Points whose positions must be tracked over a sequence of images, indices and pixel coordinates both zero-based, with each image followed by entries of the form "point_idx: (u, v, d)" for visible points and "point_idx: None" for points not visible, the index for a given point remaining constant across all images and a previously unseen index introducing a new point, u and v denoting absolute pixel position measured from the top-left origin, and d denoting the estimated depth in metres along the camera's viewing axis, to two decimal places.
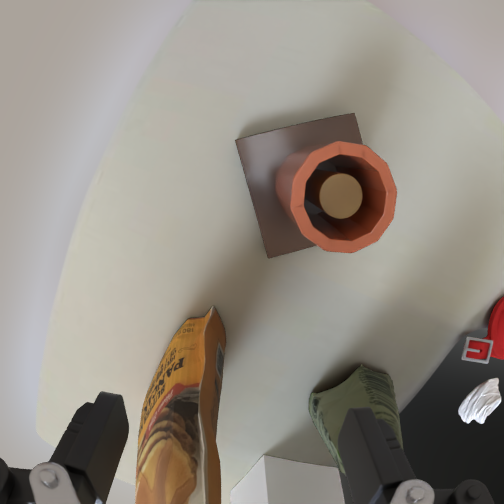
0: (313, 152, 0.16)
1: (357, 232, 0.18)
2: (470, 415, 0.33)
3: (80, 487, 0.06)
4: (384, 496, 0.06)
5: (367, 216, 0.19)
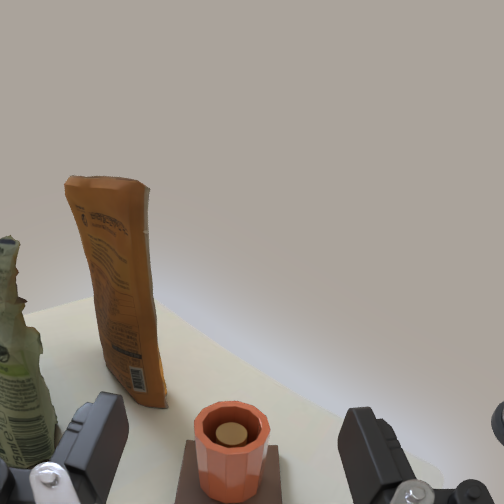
0: (266, 417, 0.24)
1: None
2: None
3: (80, 487, 0.06)
4: (384, 496, 0.06)
5: None
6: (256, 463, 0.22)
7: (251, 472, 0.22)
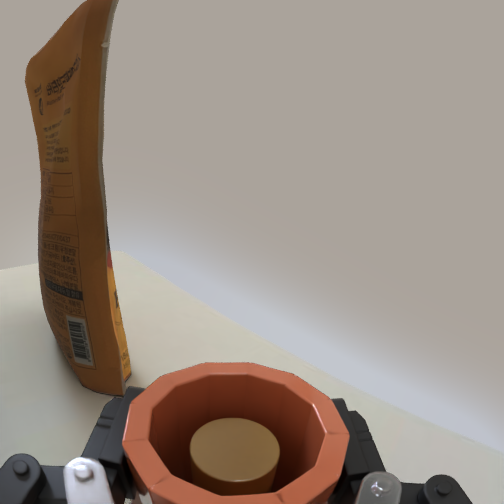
0: (331, 401, 0.09)
1: (153, 444, 0.08)
2: None
3: (114, 481, 0.06)
4: (351, 487, 0.07)
5: None
6: None
7: None
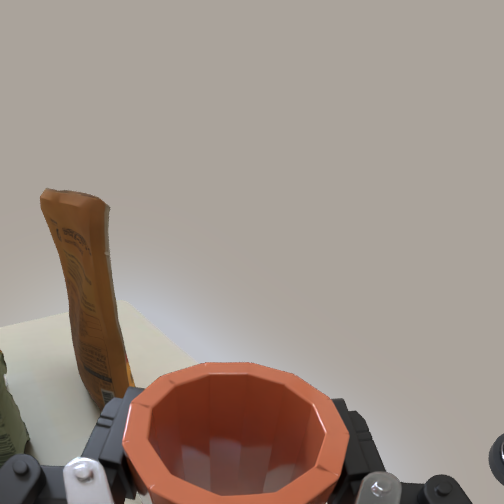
0: (331, 401, 0.09)
1: (153, 444, 0.08)
2: None
3: (114, 481, 0.06)
4: (351, 487, 0.07)
5: None
6: None
7: None
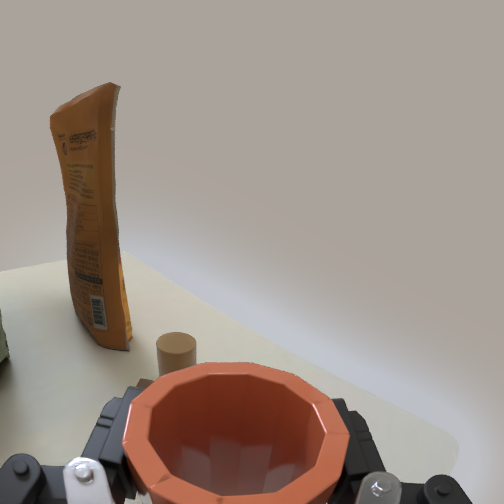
0: (331, 401, 0.09)
1: (153, 444, 0.08)
2: None
3: (114, 481, 0.06)
4: (351, 487, 0.07)
5: None
6: None
7: None
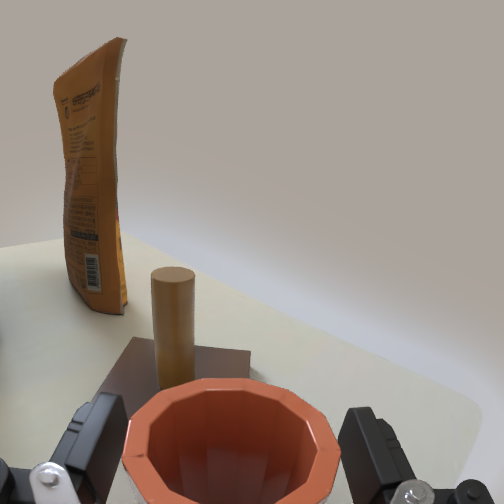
0: (324, 417, 0.09)
1: (152, 459, 0.08)
2: None
3: (80, 487, 0.06)
4: (384, 496, 0.06)
5: None
6: None
7: None
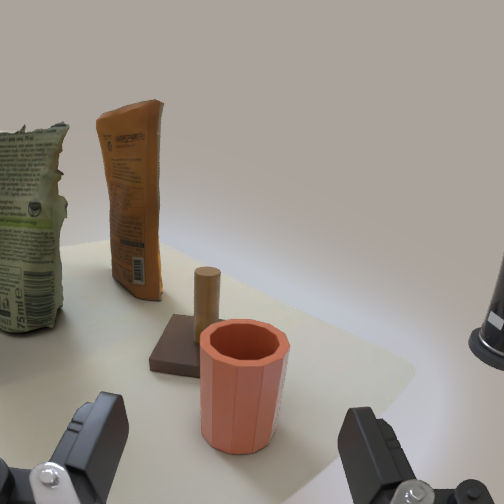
0: (284, 334, 0.22)
1: None
2: None
3: (80, 487, 0.06)
4: (384, 496, 0.06)
5: None
6: (273, 389, 0.20)
7: (266, 403, 0.20)
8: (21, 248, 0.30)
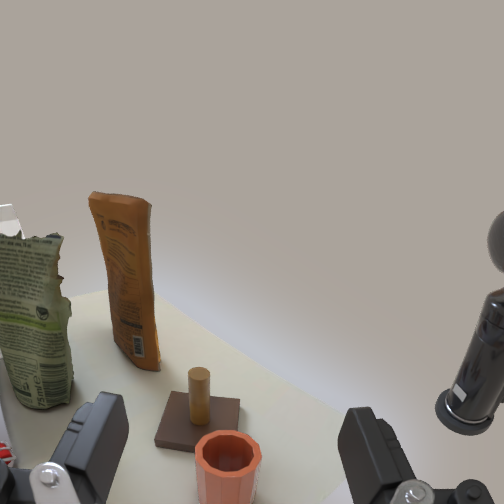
0: (258, 445, 0.26)
1: None
2: None
3: (80, 487, 0.06)
4: (384, 496, 0.06)
5: None
6: (249, 484, 0.24)
7: (244, 492, 0.24)
8: (34, 344, 0.34)
